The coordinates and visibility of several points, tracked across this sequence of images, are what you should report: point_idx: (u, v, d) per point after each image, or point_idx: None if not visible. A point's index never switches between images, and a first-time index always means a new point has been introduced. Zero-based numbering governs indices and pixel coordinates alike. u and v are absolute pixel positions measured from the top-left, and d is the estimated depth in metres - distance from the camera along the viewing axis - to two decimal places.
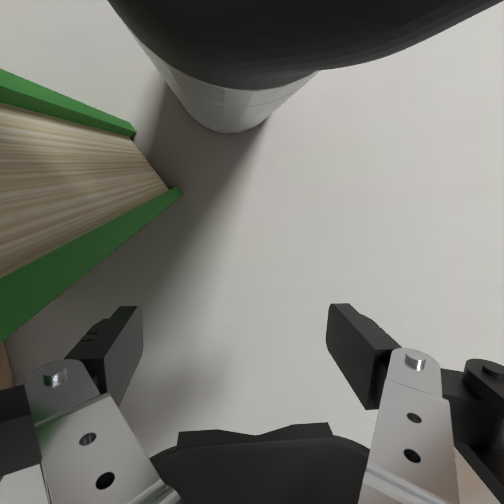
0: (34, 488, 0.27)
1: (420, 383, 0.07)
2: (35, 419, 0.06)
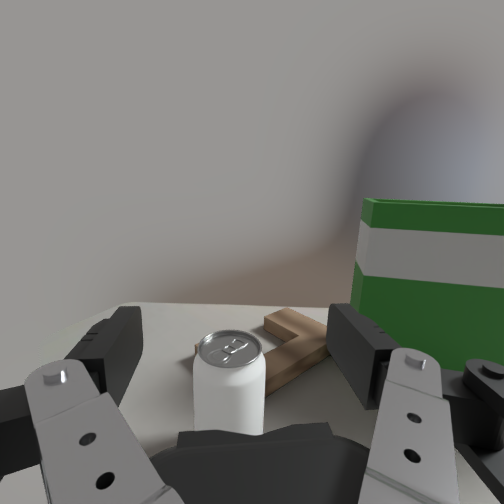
0: None
1: (420, 383, 0.07)
2: (35, 419, 0.06)
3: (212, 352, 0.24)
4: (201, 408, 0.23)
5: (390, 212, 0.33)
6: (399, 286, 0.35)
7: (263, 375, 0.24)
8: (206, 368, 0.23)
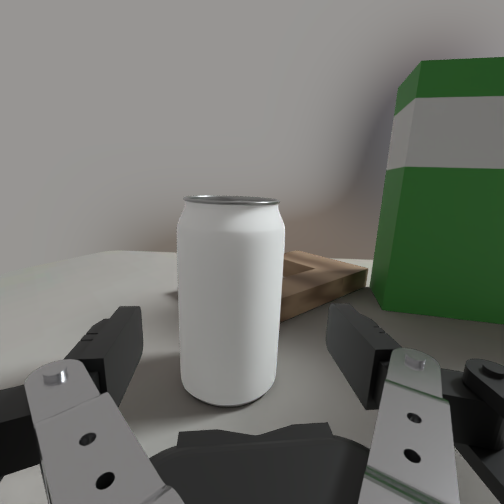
0: None
1: (420, 383, 0.07)
2: (35, 419, 0.06)
3: None
4: (188, 279, 0.15)
5: (444, 73, 0.25)
6: (452, 179, 0.27)
7: (282, 236, 0.16)
8: (196, 212, 0.15)
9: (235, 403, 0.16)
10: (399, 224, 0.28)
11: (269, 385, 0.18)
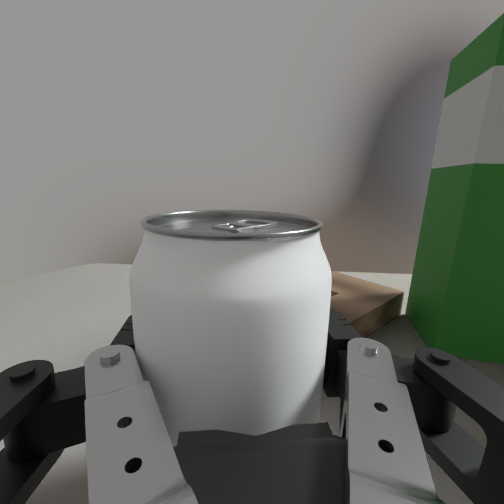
0: None
1: (377, 370, 0.07)
2: (88, 395, 0.06)
3: (185, 230, 0.09)
4: (150, 384, 0.08)
5: None
6: None
7: (330, 291, 0.08)
8: (161, 254, 0.07)
9: None
10: (461, 242, 0.21)
11: None
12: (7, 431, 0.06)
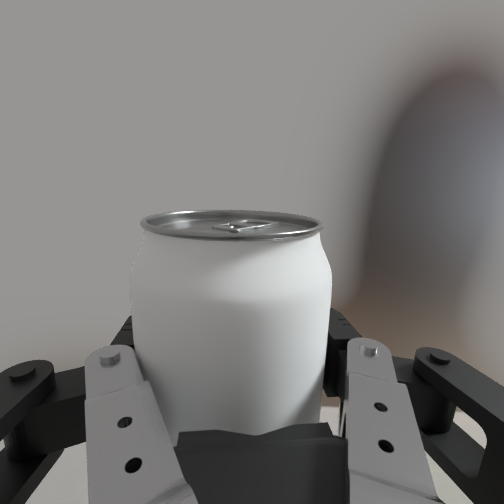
0: None
1: (377, 370, 0.07)
2: (88, 395, 0.06)
3: (185, 230, 0.09)
4: None
5: None
6: None
7: (330, 291, 0.08)
8: (161, 254, 0.07)
9: None
10: None
11: None
12: (7, 431, 0.06)
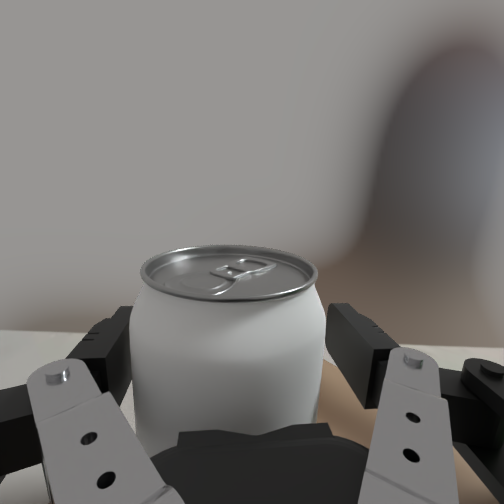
0: None
1: (419, 382, 0.07)
2: (37, 419, 0.06)
3: (183, 276, 0.09)
4: (146, 430, 0.08)
5: None
6: None
7: (323, 340, 0.09)
8: (158, 309, 0.07)
9: None
10: None
11: None
12: None
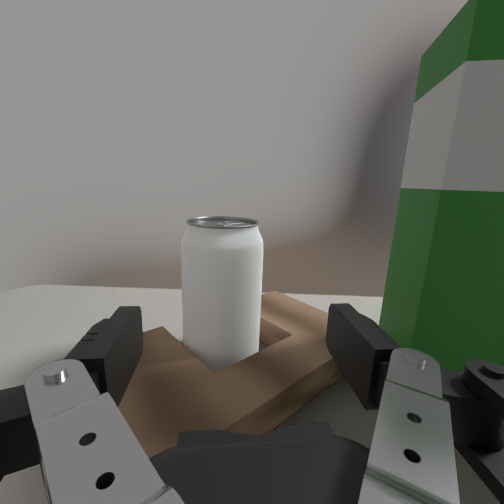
0: None
1: (420, 383, 0.07)
2: (35, 419, 0.06)
3: (203, 225, 0.22)
4: (189, 282, 0.21)
5: None
6: None
7: (260, 250, 0.21)
8: (195, 233, 0.20)
9: None
10: (428, 289, 0.16)
11: None
12: None
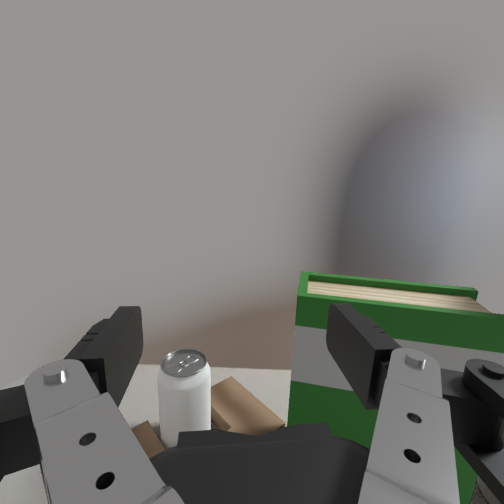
0: (210, 394, 0.36)
1: (420, 383, 0.07)
2: (35, 419, 0.06)
3: (171, 365, 0.35)
4: (162, 404, 0.34)
5: (318, 309, 0.26)
6: (334, 397, 0.27)
7: (206, 382, 0.34)
8: (165, 377, 0.33)
9: None
10: None
11: None
12: None
